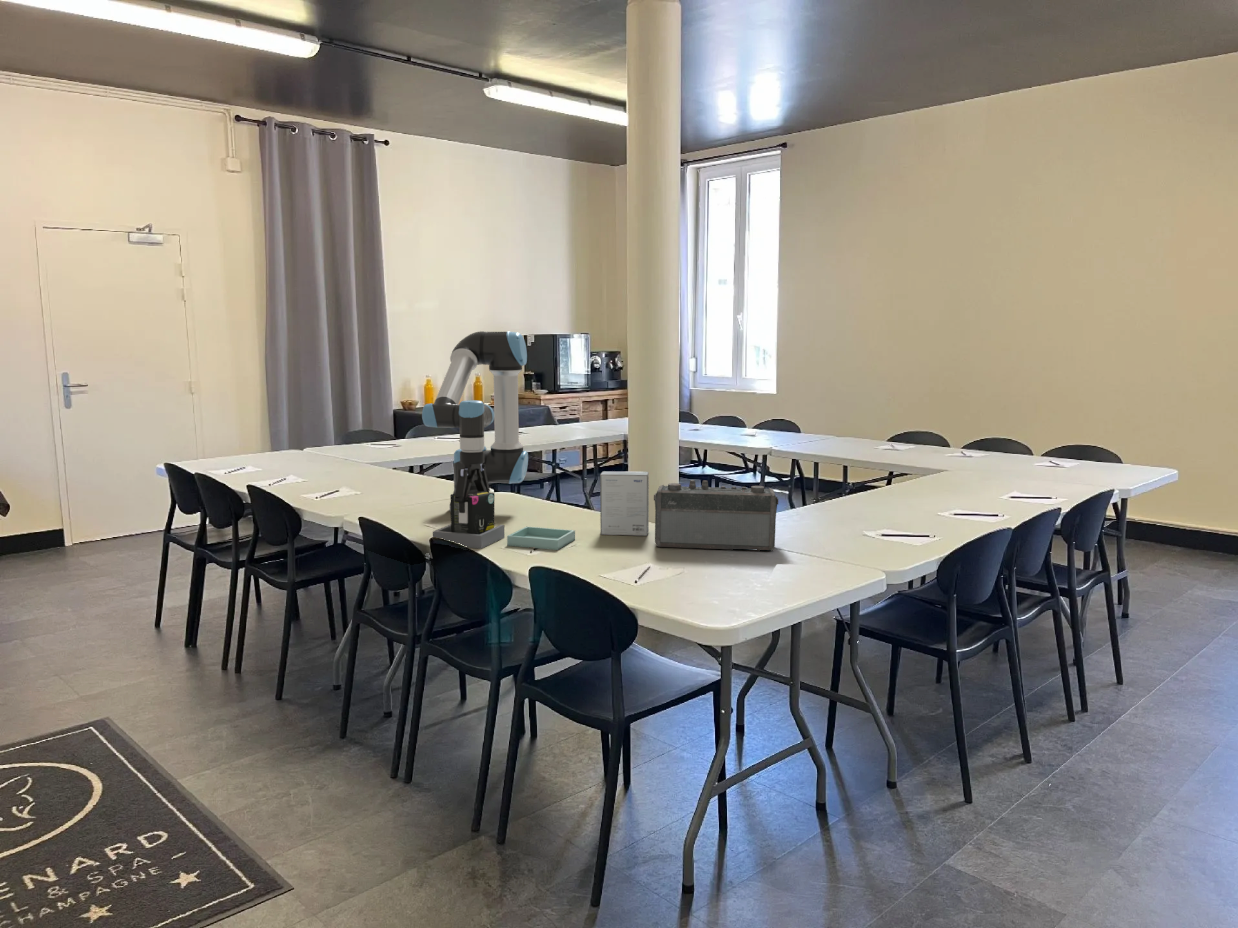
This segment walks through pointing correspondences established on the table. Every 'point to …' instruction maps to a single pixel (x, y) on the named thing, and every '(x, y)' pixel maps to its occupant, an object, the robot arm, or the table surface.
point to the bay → (471, 536)
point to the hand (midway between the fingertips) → (472, 519)
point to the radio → (715, 517)
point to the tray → (541, 538)
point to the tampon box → (474, 513)
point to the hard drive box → (624, 503)
